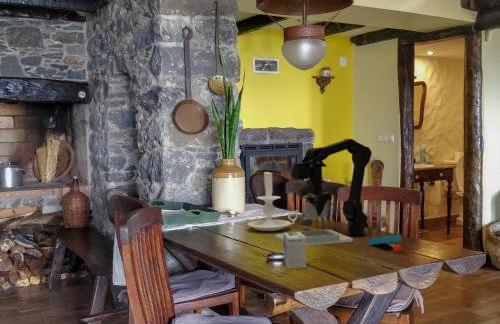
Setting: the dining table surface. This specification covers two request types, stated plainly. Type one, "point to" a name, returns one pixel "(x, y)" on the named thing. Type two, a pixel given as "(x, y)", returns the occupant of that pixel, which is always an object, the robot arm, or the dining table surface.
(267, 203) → the candlestick
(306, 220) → the wheel
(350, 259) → the dining table surface
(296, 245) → the light bulb box
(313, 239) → the chassis
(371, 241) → the lever
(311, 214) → the block
